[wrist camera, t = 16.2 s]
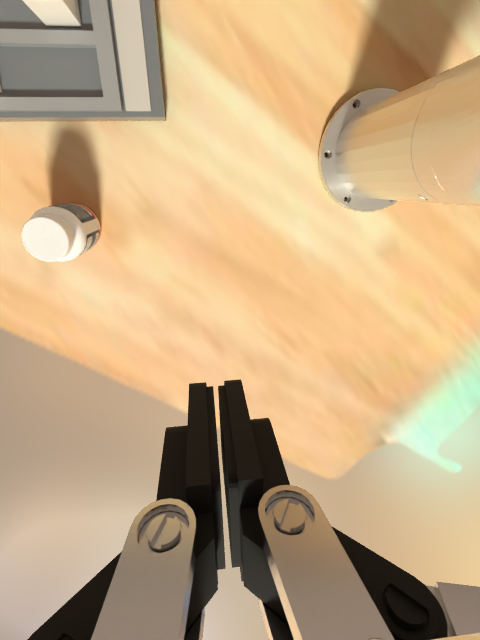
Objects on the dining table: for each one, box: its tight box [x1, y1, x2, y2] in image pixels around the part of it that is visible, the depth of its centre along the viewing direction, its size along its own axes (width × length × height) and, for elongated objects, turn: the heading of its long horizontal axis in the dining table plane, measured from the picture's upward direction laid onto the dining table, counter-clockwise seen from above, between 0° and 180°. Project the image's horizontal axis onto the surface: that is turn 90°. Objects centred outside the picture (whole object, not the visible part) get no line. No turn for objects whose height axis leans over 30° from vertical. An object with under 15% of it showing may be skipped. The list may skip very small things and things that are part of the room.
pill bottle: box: [22, 203, 101, 261], centre depth 34 cm, size 5×5×9 cm
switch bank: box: [0, 0, 166, 121], centre depth 29 cm, size 24×17×3 cm
